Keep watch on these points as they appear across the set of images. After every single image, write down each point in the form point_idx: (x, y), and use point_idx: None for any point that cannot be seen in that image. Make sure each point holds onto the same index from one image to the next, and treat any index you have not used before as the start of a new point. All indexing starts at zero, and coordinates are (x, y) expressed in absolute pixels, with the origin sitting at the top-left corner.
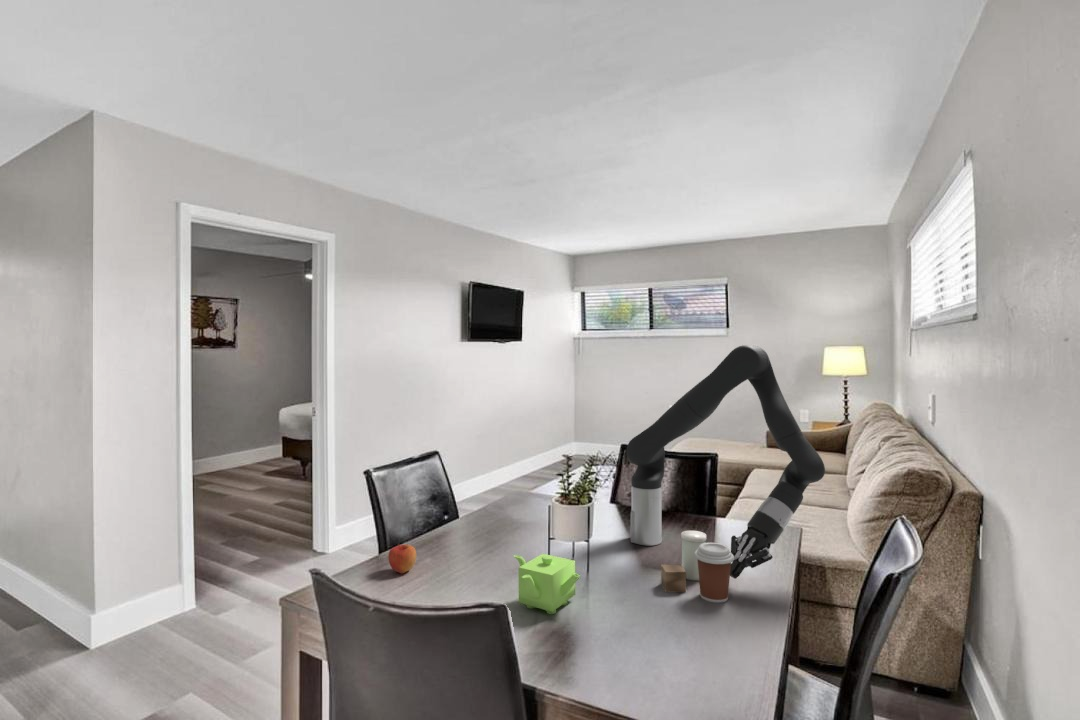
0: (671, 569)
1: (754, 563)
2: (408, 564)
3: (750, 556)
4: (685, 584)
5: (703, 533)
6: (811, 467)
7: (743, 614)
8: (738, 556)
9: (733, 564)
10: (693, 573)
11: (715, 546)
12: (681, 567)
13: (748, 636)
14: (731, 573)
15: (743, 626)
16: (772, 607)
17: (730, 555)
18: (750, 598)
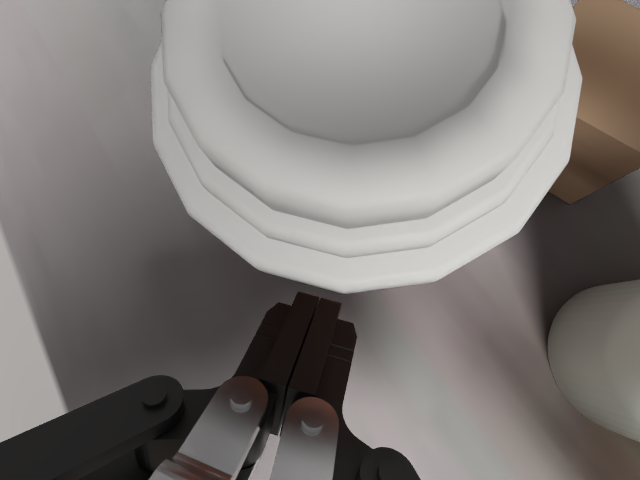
0: (606, 41)
1: (130, 463)
2: None
3: (109, 443)
4: None
5: None
6: None
7: (155, 168)
8: (285, 433)
9: (309, 353)
10: (595, 296)
11: (396, 87)
12: (601, 119)
13: (54, 36)
14: (296, 296)
15: (103, 82)
16: (98, 341)
17: (169, 119)
18: (223, 347)
